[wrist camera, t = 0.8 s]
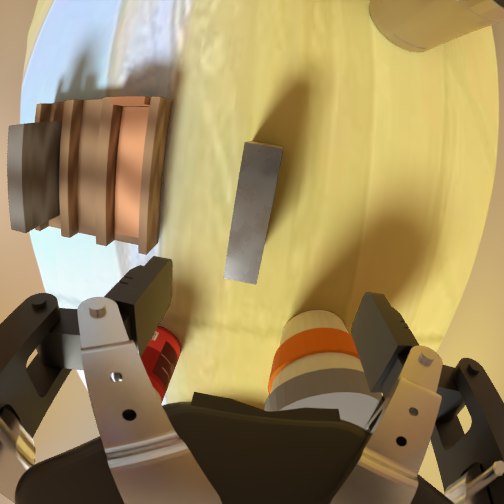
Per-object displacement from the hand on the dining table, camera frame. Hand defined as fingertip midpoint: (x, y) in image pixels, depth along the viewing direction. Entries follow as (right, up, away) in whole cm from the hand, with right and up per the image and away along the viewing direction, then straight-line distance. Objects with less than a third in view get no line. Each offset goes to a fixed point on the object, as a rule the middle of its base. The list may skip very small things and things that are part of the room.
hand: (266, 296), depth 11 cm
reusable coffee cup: (+8, -10, +26) cm, 29 cm away
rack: (-20, +12, +19) cm, 30 cm away
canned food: (-15, -12, +29) cm, 35 cm away
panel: (0, +8, +19) cm, 21 cm away
